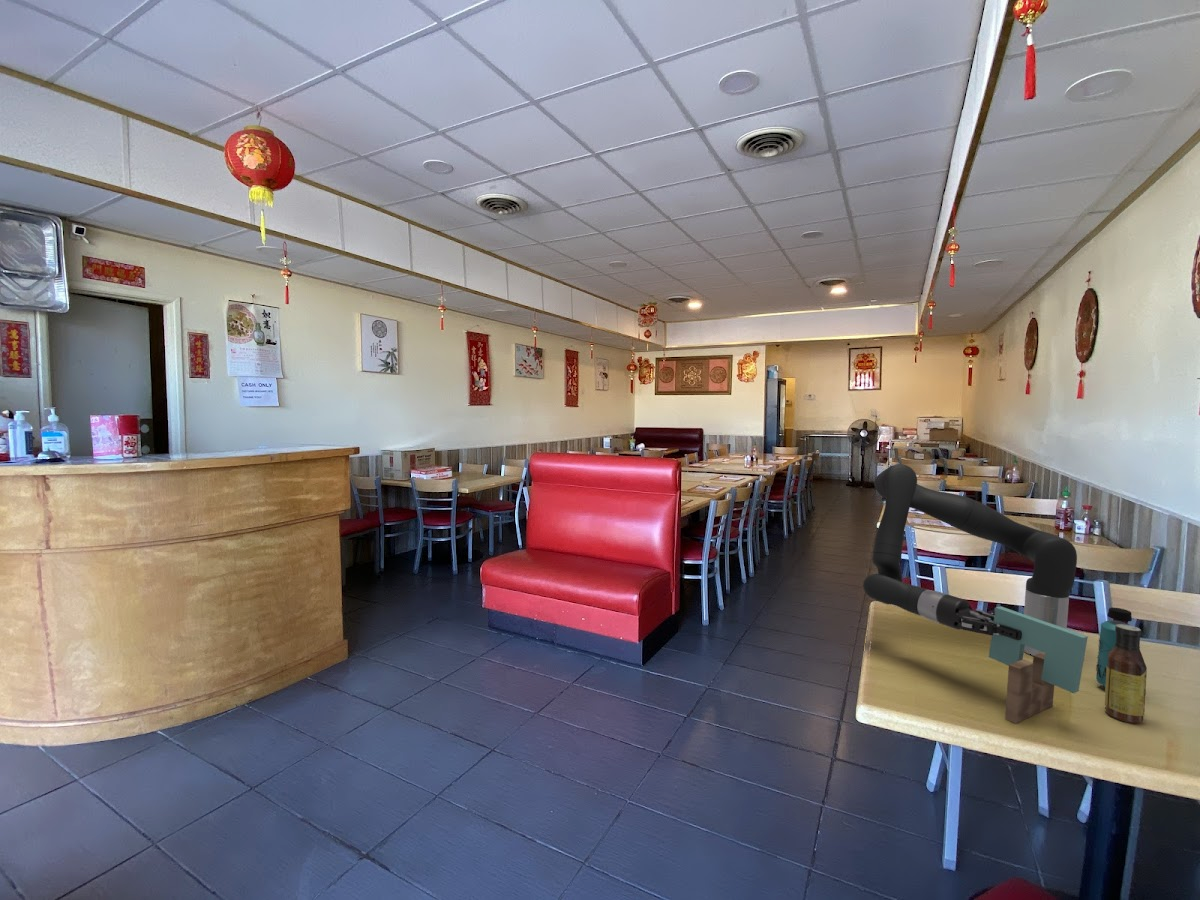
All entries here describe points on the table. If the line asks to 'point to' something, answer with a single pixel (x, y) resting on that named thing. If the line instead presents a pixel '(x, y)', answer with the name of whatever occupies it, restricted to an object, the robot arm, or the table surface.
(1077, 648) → the teal slotted plate
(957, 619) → the robot arm
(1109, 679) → the sauce bottle
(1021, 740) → the table surface
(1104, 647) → the teal bottle
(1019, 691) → the walnut slotted plate
